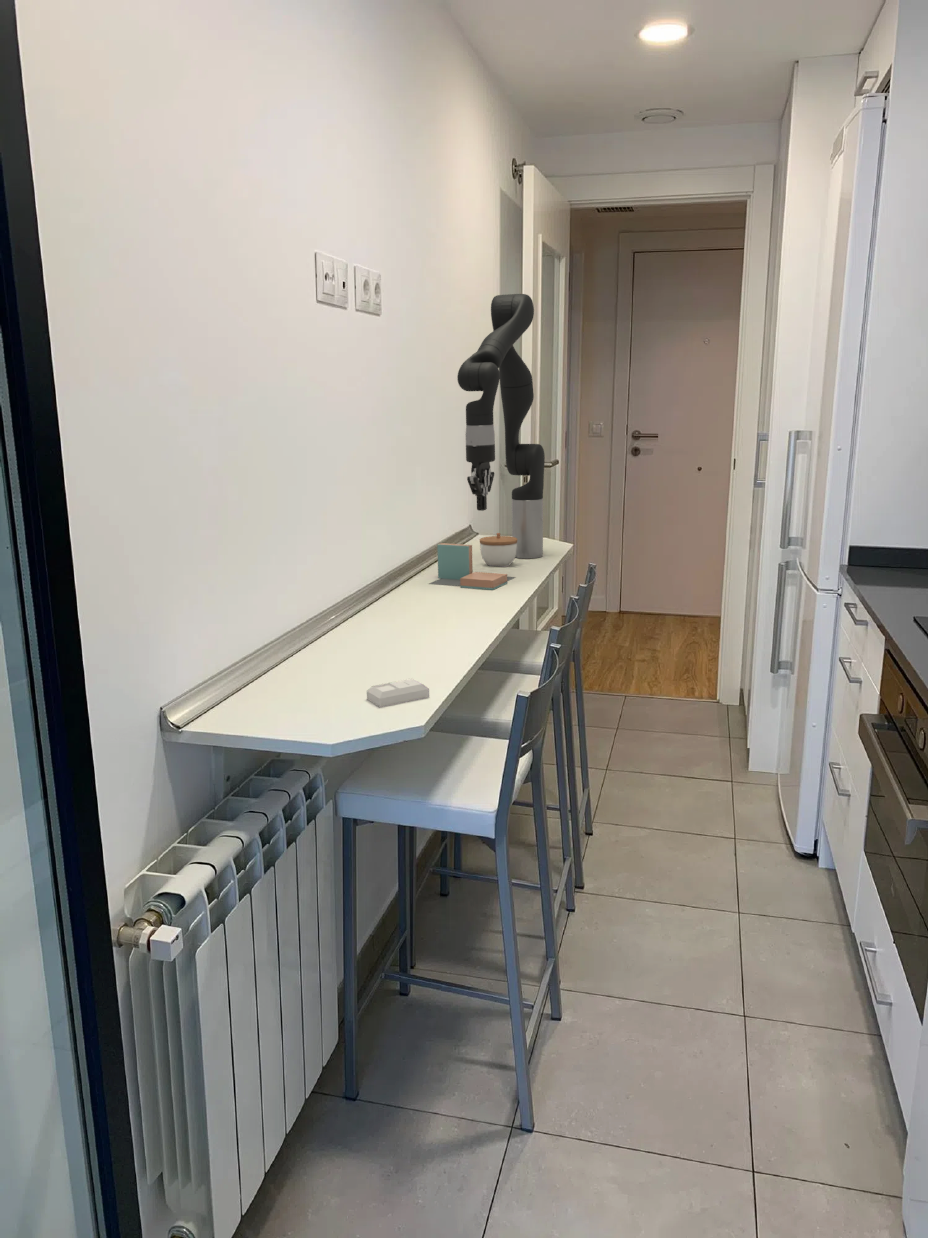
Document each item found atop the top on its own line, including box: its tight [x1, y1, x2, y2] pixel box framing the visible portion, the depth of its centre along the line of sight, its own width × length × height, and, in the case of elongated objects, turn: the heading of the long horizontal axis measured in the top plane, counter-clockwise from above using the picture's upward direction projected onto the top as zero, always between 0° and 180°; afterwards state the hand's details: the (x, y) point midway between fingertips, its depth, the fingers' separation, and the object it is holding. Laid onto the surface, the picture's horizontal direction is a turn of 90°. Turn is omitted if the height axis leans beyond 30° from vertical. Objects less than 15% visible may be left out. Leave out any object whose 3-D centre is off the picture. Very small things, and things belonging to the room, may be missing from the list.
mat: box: [428, 576, 517, 587], centre depth 247 cm, size 16×18×1 cm
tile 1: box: [436, 542, 474, 580], centre depth 249 cm, size 2×9×9 cm, turn 64°
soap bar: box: [366, 677, 430, 708], centre depth 155 cm, size 5×9×3 cm, turn 121°
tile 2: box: [459, 571, 508, 591], centre depth 240 cm, size 2×9×9 cm
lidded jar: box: [479, 532, 517, 568], centre depth 268 cm, size 11×11×9 cm
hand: (481, 510), depth 247 cm, fingers closed
